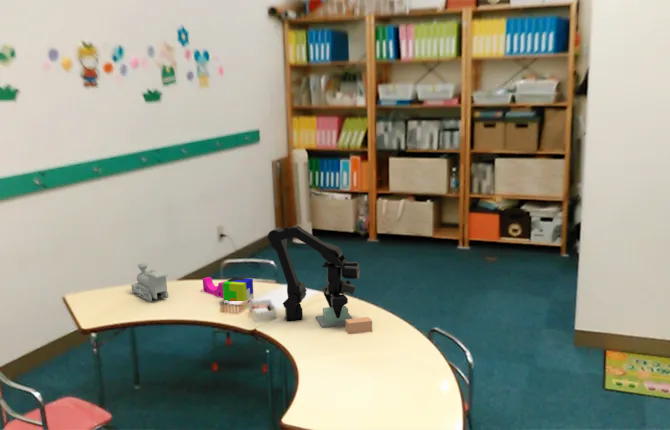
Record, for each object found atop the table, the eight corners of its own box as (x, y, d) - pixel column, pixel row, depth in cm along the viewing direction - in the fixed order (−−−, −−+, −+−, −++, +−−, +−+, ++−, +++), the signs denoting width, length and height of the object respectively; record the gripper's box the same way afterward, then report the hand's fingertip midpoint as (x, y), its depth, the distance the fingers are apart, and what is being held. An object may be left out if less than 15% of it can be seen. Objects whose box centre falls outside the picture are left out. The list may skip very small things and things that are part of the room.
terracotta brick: (348, 334, 244) (348, 323, 243) (345, 330, 249) (345, 319, 248) (372, 331, 246) (371, 320, 245) (368, 327, 251) (368, 316, 250)
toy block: (233, 296, 297) (232, 280, 295) (222, 299, 292) (221, 283, 291) (214, 290, 307) (213, 275, 305) (203, 293, 302) (202, 278, 301)
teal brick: (325, 322, 255) (325, 311, 254) (322, 318, 259) (322, 307, 259) (348, 319, 257) (348, 309, 256) (345, 315, 262) (345, 305, 261)
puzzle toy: (253, 299, 290) (252, 278, 289) (243, 306, 281) (242, 284, 279) (234, 297, 294) (233, 277, 292) (223, 304, 284) (222, 283, 283)
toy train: (150, 288, 313) (148, 259, 310) (175, 300, 292) (173, 269, 289) (128, 293, 306) (126, 263, 303) (152, 305, 285) (150, 273, 282)
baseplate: (322, 328, 251) (322, 325, 251) (315, 318, 262) (315, 316, 262) (355, 324, 254) (355, 321, 254) (348, 314, 266) (348, 312, 266)
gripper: (359, 282, 248) (360, 319, 251) (347, 270, 266) (348, 305, 269) (332, 284, 245) (333, 322, 248) (321, 272, 263) (322, 308, 266)
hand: (335, 314), depth 258 cm, fingers open, 9 cm apart
